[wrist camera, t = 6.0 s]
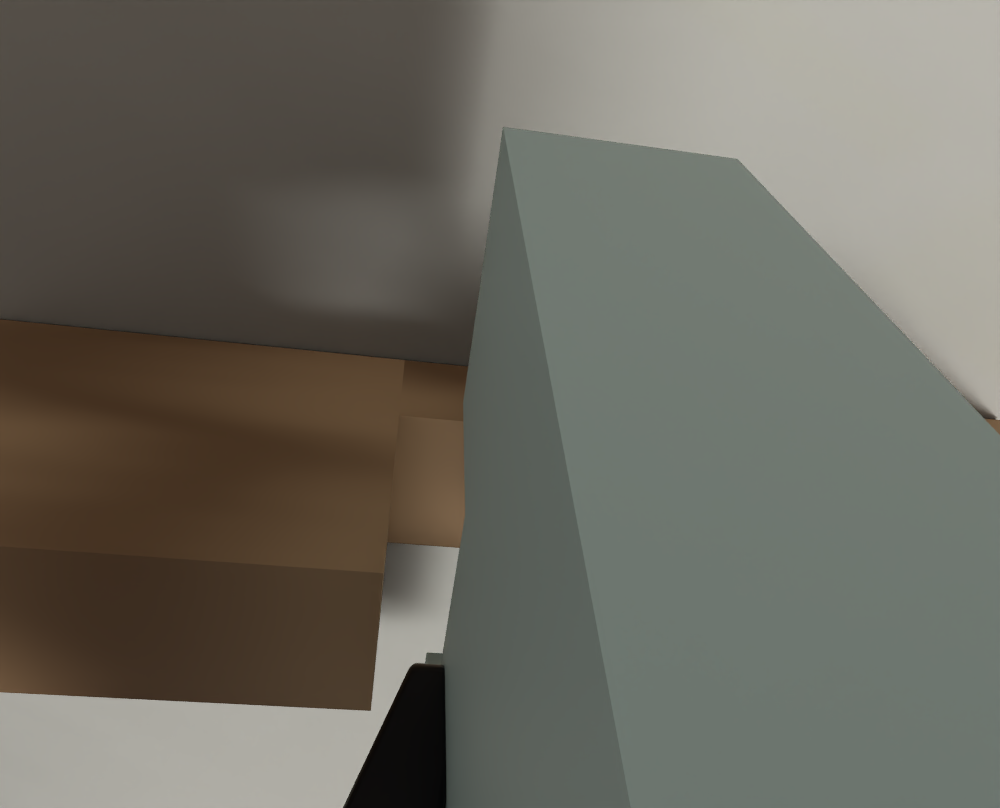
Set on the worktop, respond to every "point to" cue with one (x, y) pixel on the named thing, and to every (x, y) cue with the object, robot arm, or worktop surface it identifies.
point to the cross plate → (708, 512)
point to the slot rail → (212, 512)
